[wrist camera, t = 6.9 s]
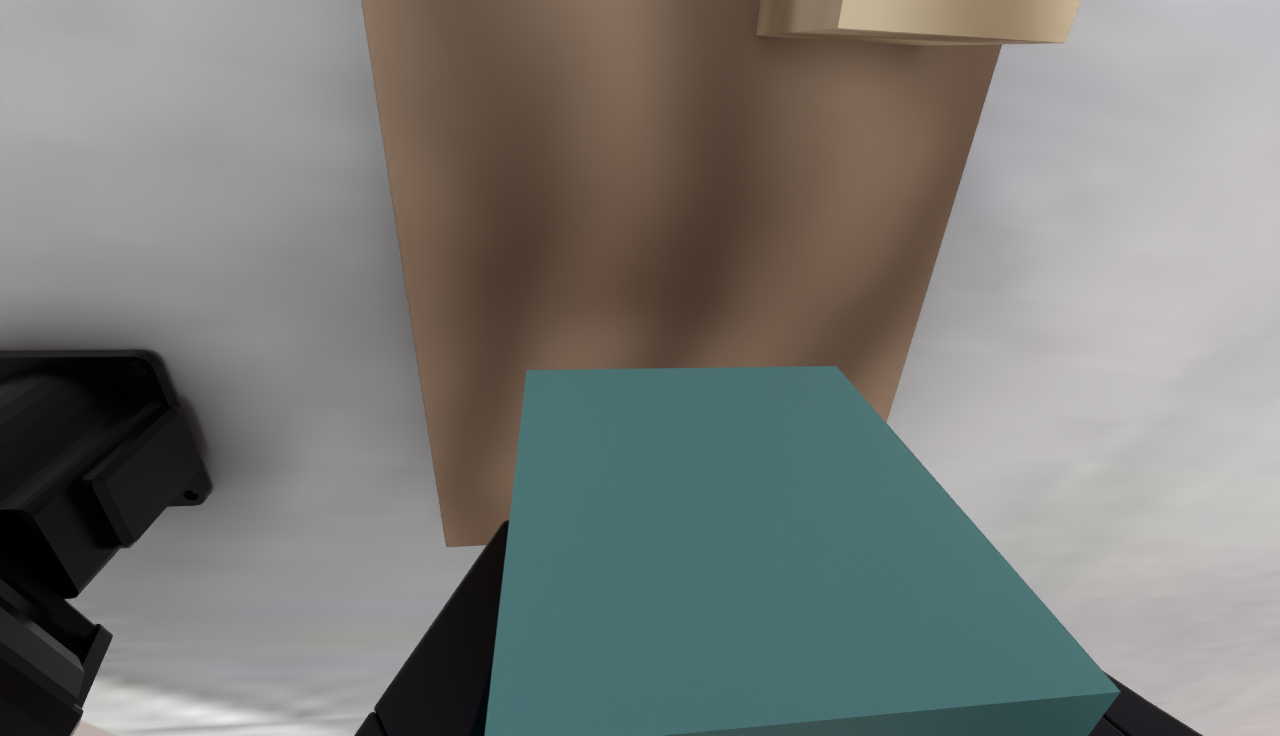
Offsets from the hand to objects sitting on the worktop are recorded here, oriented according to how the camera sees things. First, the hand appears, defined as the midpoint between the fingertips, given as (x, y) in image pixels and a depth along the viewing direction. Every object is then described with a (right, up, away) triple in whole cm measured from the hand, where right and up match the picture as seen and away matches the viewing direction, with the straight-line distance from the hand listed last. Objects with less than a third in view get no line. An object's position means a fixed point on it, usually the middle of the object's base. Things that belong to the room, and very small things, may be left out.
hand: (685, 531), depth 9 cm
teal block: (0, 0, +1) cm, 1 cm away
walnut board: (+1, +7, +11) cm, 13 cm away
